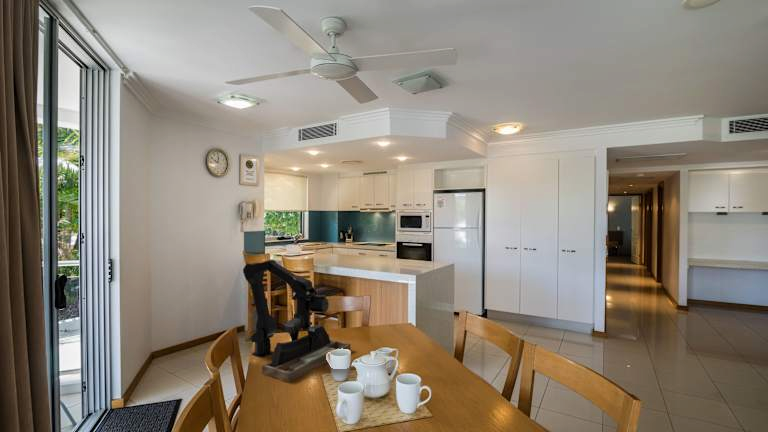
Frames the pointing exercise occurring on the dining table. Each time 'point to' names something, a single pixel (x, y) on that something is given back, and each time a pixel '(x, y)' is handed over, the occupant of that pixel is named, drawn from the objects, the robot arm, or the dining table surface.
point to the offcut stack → (310, 358)
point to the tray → (281, 370)
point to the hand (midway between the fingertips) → (303, 348)
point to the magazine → (296, 349)
